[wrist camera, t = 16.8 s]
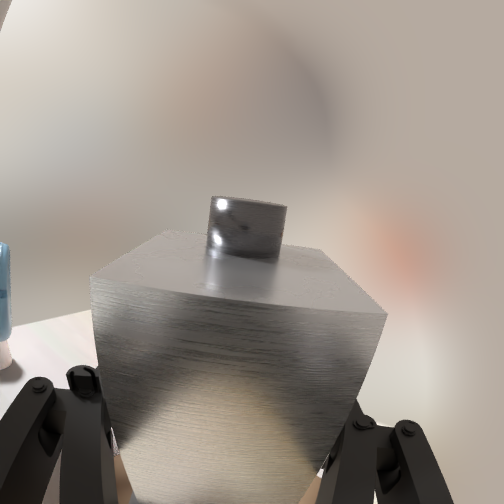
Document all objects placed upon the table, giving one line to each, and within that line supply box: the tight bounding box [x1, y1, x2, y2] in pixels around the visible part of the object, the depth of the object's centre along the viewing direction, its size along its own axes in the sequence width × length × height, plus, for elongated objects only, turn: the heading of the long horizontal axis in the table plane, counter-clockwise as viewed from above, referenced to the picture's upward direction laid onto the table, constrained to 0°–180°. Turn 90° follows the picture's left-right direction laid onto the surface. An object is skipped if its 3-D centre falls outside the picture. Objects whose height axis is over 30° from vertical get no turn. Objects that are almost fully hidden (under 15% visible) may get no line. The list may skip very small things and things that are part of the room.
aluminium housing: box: [89, 196, 388, 504], centre depth 11 cm, size 8×8×15 cm
